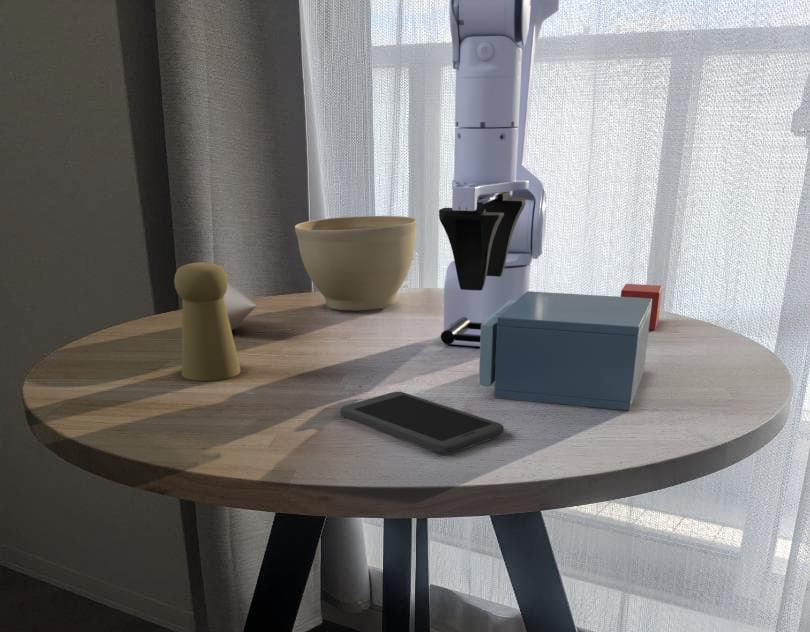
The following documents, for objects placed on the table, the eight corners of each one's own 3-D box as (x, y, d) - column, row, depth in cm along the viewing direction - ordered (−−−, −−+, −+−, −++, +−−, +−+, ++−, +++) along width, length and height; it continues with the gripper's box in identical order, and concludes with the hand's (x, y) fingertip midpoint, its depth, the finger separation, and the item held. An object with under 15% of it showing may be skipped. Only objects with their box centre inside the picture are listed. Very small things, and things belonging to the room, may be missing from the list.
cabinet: (494, 397, 82) (497, 317, 79) (522, 363, 93) (526, 291, 90) (629, 411, 79) (639, 326, 75) (643, 373, 89) (652, 298, 86)
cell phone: (397, 397, 82) (397, 389, 82) (508, 434, 73) (508, 425, 73) (336, 415, 78) (336, 406, 78) (446, 456, 69) (446, 447, 68)
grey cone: (259, 344, 100) (201, 341, 112) (289, 304, 102) (228, 305, 113) (222, 307, 97) (165, 308, 108) (253, 266, 98) (194, 271, 109)
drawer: (431, 380, 84) (432, 321, 82) (463, 351, 94) (465, 297, 91) (600, 396, 80) (606, 333, 77) (616, 364, 89) (621, 307, 86)
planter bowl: (363, 290, 130) (359, 212, 125) (443, 302, 119) (442, 218, 114) (277, 307, 120) (269, 224, 115) (356, 323, 109) (351, 231, 104)
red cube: (617, 327, 107) (621, 290, 105) (621, 319, 111) (625, 283, 109) (655, 330, 106) (659, 292, 104) (658, 322, 109) (662, 285, 107)
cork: (250, 367, 92) (241, 260, 88) (222, 383, 87) (210, 270, 82) (201, 362, 94) (188, 257, 89) (170, 378, 89) (155, 267, 84)
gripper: (511, 130, 71) (504, 299, 77) (546, 125, 83) (537, 271, 89) (429, 130, 73) (428, 294, 79) (474, 125, 85) (471, 268, 91)
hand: (481, 282), depth 84 cm, fingers open, 7 cm apart
